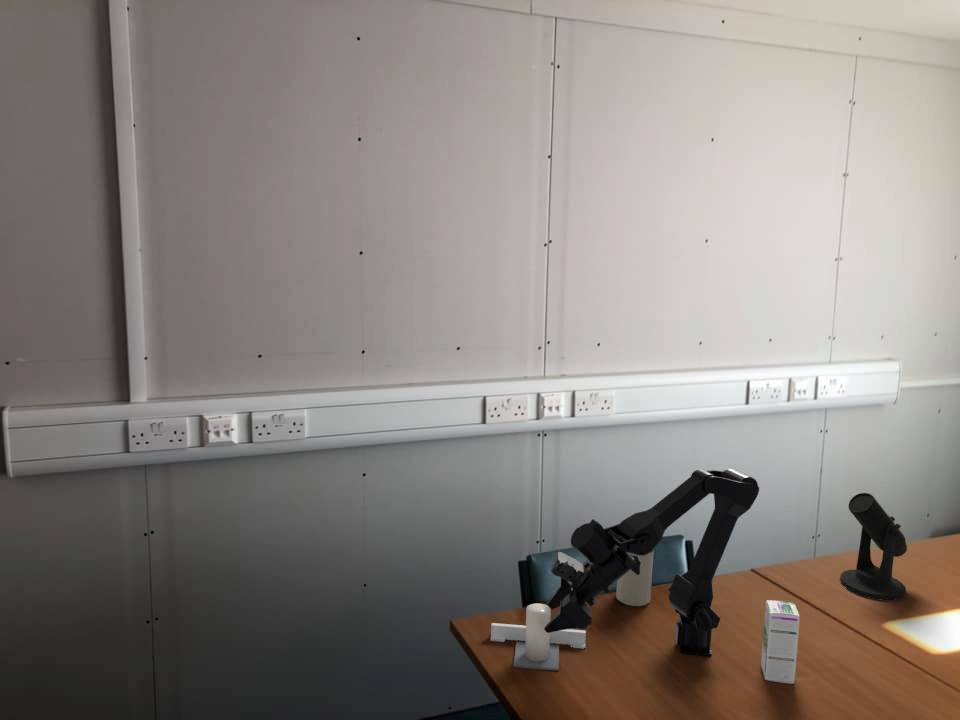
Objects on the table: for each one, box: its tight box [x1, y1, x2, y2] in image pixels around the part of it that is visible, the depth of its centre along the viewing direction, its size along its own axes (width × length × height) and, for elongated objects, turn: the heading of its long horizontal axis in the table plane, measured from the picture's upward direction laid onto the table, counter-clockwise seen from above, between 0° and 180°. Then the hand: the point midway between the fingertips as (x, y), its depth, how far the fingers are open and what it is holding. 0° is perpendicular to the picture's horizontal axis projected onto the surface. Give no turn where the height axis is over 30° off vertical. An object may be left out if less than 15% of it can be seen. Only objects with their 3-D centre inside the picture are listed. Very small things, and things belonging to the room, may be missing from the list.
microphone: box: [839, 492, 908, 601], centre depth 193 cm, size 15×17×25 cm
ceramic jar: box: [524, 602, 552, 661], centre depth 157 cm, size 5×5×10 cm
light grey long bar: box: [490, 622, 587, 649], centre depth 164 cm, size 20×3×3 cm, turn 84°
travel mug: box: [615, 548, 655, 607], centre depth 183 cm, size 8×8×18 cm
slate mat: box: [513, 641, 560, 671], centre depth 158 cm, size 9×9×1 cm
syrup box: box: [760, 599, 801, 685], centre depth 153 cm, size 6×6×14 cm
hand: (546, 619), depth 157 cm, fingers open, 9 cm apart
